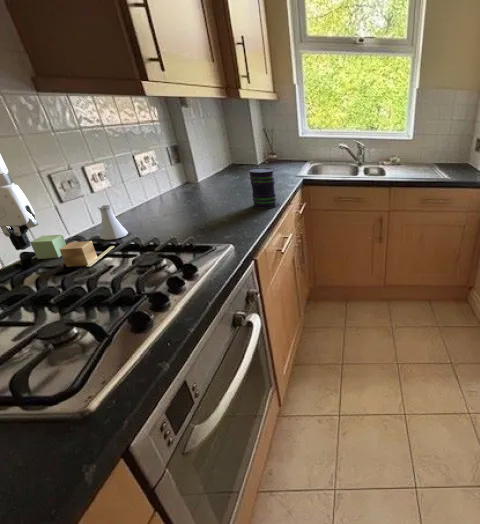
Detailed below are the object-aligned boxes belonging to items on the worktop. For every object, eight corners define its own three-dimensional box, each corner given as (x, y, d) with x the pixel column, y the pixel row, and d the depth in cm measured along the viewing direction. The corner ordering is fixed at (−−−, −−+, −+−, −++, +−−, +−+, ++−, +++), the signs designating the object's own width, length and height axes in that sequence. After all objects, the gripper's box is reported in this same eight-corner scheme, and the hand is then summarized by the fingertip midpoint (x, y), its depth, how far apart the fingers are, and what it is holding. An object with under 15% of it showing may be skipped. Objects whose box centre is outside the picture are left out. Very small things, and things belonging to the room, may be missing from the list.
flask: (112, 232, 110) (102, 202, 106) (133, 232, 110) (124, 203, 106) (94, 240, 104) (83, 209, 100) (117, 240, 104) (107, 209, 99)
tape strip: (86, 266, 87) (86, 266, 87) (110, 246, 99) (110, 246, 99) (90, 266, 87) (90, 265, 87) (114, 246, 99) (114, 246, 99)
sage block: (37, 259, 91) (29, 242, 89) (48, 251, 95) (41, 235, 93) (58, 257, 92) (51, 240, 90) (69, 250, 96) (62, 234, 94)
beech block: (66, 266, 87) (59, 249, 85) (76, 259, 91) (70, 242, 89) (88, 265, 88) (81, 248, 86) (97, 257, 92) (91, 241, 90)
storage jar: (264, 210, 137) (258, 165, 129) (248, 206, 142) (242, 162, 134) (282, 204, 144) (278, 162, 137) (267, 201, 149) (262, 160, 142)
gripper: (-60, 185, 78) (-21, 256, 86) (16, 183, 81) (47, 251, 89) (-33, 179, 85) (1, 245, 93) (36, 177, 88) (63, 241, 96)
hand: (23, 247), depth 91 cm, fingers closed
